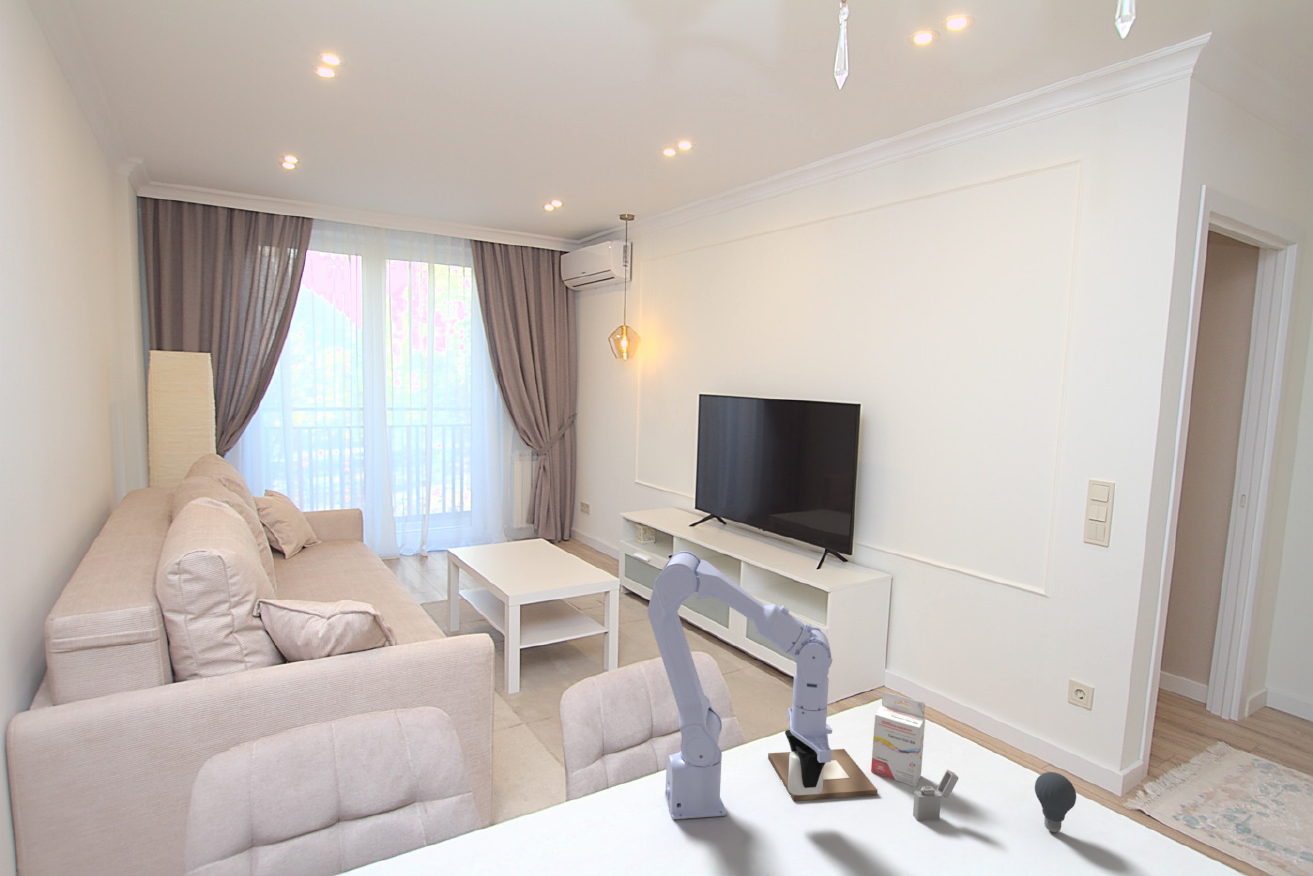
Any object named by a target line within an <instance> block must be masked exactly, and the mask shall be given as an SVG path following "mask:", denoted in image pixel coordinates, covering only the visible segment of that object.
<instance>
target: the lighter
mask: <svg viewBox="0 0 1313 876" xmlns="http://www.w3.org/2000/svg"><path fill="white" fill-rule="evenodd" d="M958 781H959V776H958V775H957V774H956V772H953V771H951V770H949V769H946V771H945V772H944V774H943V776H942V779H941V781H940V782H939V784H938V786H937V788H936V790H935V788H934V787H933V786H931V785H929V786H921V789H920V790H914V793H913V794H914V795H913V808H912V809H913V810H912V816H913V817H914V818H915V819H916V821H918V822H923V821H926V822H927V821H939V820H940V817H941V805H942V804H941V801H942V797H943V798H946V799H949V797H950V796H951V794H952V792H953V790H954V788H955V786H956V784H957V783H958Z"/></svg>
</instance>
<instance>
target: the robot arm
mask: <svg viewBox="0 0 1313 876" xmlns="http://www.w3.org/2000/svg"><path fill="white" fill-rule="evenodd" d="M694 593H697V594H696V597H695V599H697V600H700V599H701V600H702V599H709V598H715V599H717V600H718V601H720V602H721V603H722V604H724V605H726V606H728V607H730V608H731V609H733V610H734V611H736V612H738V613H739V614H741V615H742V616H744V617H745V618H747V619H748V620H750V621H752V622H753V623H754V627H755V632H756V633H757V634H758V635H759V636H761V637H763V638H764V639H766V640H767V641H768V642H769V643H771V644H773V645H774V646H776V647H777V648H779V649H780V650H781V651H783V653H785V654H787V655H789V656H792V657H794V660H795V672H794V673H793V688H792V691H793V692H792V707H788V708H787V719H788V721H789V729H786V730H785V731H784V734H785V737H786V739H787V741H788V744H789V746H790V747H789V748H790V752H793V751H797V753H798V755H799V758H800V763H801V773H802V782H803V786H804V787H805V788H812V787H816V785H817V783H818V780H819V777H820V774H821V771H822V769H823V767H824V765H825V763H826V762H831V753H832V751H831V750H832V749H831V748H830V745H829V737H828V735H831V734H833V728H832V727H831V726H830V725H829V724H828V723H827V718H828V717H827V714H828V701H829V699H828V695H829V682H830V679H829V677H828V675H829V672H830V671H829V669H830V668H831V665H832V663H833V658H832V653H831V647H830V643H829V639H828V638H827V636H826V634H825V633H824V632H823V631H822V630H821V629H820V628H819V627H816V626H812V624H810V623H807V624H805V623H804V622H802V621H801V620H799V619H798V618H796V617H795V616H793V615H792V614H790V609H789V608H788V607H787V606H785V605H783V604H782V605H781V606H779V605H777V604H776V603H772V604H763V603H762V602H761V601H759V600H758V599H757V598H755V597H754V596H753V595H751V594H750V593H749V592H747V591H746V590H745V589H744V588H742V587H741V586H740V585H738V584H737V583H736V582H734V581H732V579H730V578H729V577H727V576H726V575H725V574H724V573H722V572H721V571H719V569H717V568H716V567H715V566H714V565H712V564H711V563H710V562H709V561H707V560H704V559H701V560H700V558H699V557H698V556H697V554H695V553H693V552H691V551H687V550H683V551H678V552H676V553H674V554H672V556H671V557H670V558H669V560H668V561H667V562H666V564H665V565H664V567H663V568H662V569H661V572H660V573H659V575H658V576H657V577H656V578H655V580H654V583H653V588H652V592H651V595H650V599H649V604H648V607H647V616H648V619H649V622H650V626H651V628H652V631H653V635H654V637H655V641H656V644H657V647H658V650H659V654H660V656H661V659H662V663H663V666H664V669H665V672H666V674H667V678H668V682H669V684H670V687H671V692H672V694H673V697H674V699H675V703H676V706H677V709H678V710H677V712H678V713H677V714H678V728H679V731H680V735H681V739H680V747H679V748H680V751H679V752H676V753H673V754H669V755H668V756H667V757H666V768H665V769H666V771H665V774H666V775H665V790H664V794H665V798H666V801H667V805H668V808H669V812H670V816H671V818H672V819H673V820H683V819H685V820H686V819H697V818H698V819H699V818H712V817H723V816H727V810H726V807H725V805H724V803H723V801H722V797H721V783H722V781H721V780H722V758H723V757H722V756H723V754H722V750H721V749H720V746H719V739H720V736H721V735H720V734H721V732H722V728H723V723H722V719H721V716H720V714H718V712H717V711H716V710H715V709H714V708H713V706H712V705H711V703H710V702H711V701H710V699H709V698H708V697H707V696H706V694H705V693H704V690H703V687H702V683H701V681H700V680H701V679H700V678H699V674H698V671H697V668H696V666H695V662H694V659H693V655H692V654H691V652H692V651H691V650H690V647H689V643H688V640H687V638H686V634H685V631H684V628H683V625H682V621H681V618H680V616H679V612H678V611H679V610H680V608H681V606H682V604H683V603H684V602H686V601H687V600H688V599H689V598H691V596H693V595H694Z"/></svg>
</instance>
